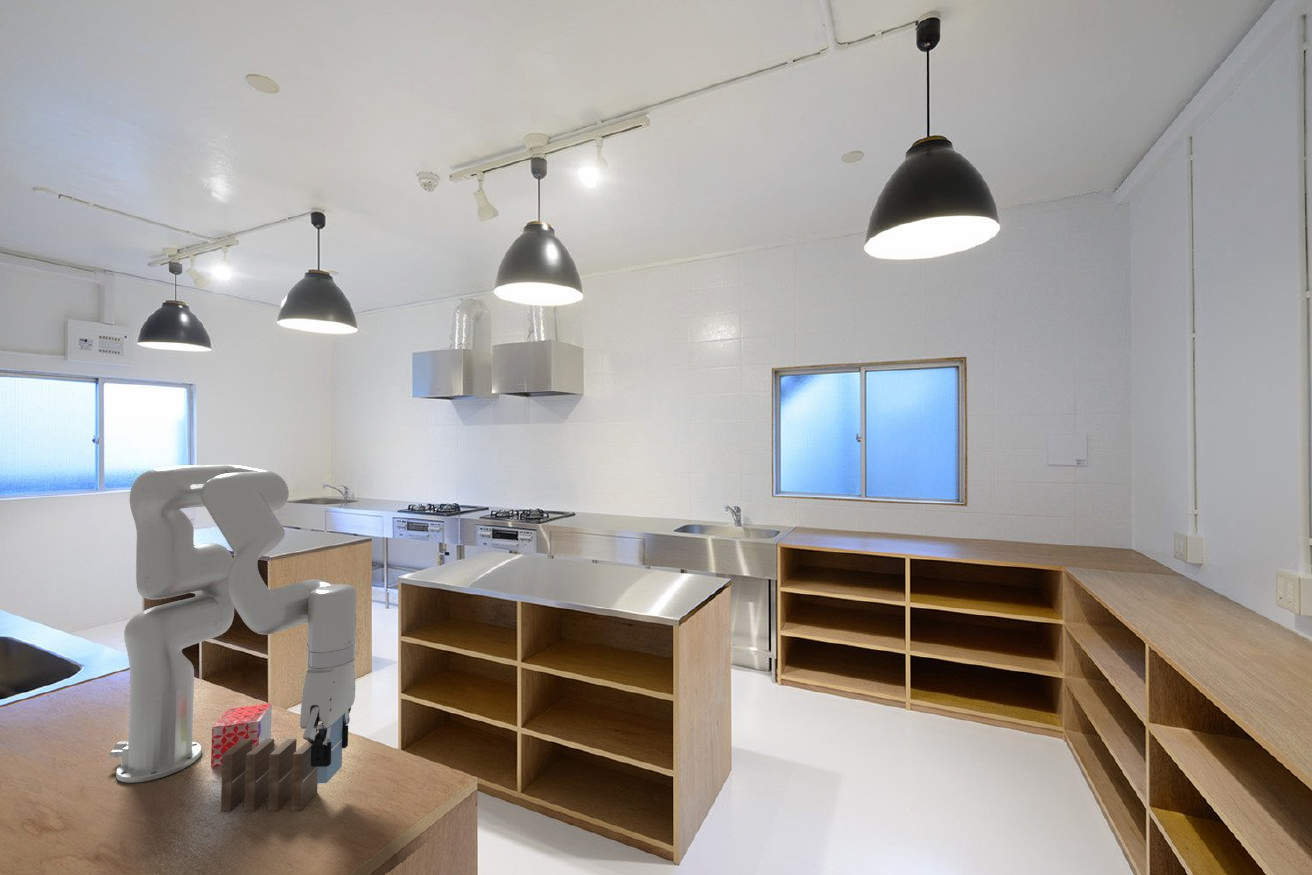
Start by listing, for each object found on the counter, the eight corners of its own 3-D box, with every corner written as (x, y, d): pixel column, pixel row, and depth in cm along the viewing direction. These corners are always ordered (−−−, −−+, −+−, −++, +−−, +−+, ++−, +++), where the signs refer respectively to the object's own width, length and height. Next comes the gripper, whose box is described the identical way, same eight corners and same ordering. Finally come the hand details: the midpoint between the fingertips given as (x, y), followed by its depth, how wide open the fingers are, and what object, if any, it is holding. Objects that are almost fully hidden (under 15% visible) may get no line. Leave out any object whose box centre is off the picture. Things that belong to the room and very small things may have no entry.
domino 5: (316, 783, 95) (318, 726, 95) (332, 766, 100) (333, 712, 100) (326, 783, 95) (327, 725, 95) (342, 766, 100) (343, 711, 100)
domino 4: (291, 811, 95) (292, 753, 95) (308, 792, 100) (309, 738, 100) (301, 811, 95) (302, 753, 95) (317, 792, 100) (319, 738, 100)
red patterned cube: (226, 745, 115) (228, 708, 115) (270, 739, 117) (271, 703, 118) (210, 767, 107) (211, 727, 107) (258, 760, 110) (259, 721, 110)
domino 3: (267, 811, 95) (269, 754, 95) (285, 793, 100) (287, 738, 100) (277, 811, 95) (279, 754, 95) (295, 793, 100) (296, 738, 100)
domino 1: (220, 812, 94) (222, 754, 94) (241, 793, 99) (242, 738, 99) (230, 812, 94) (232, 754, 95) (250, 793, 99) (252, 738, 100)
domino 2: (244, 811, 94) (245, 754, 95) (263, 793, 99) (265, 738, 100) (254, 811, 95) (255, 754, 95) (273, 793, 100) (274, 738, 100)
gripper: (335, 638, 106) (334, 731, 106) (280, 675, 89) (277, 786, 89) (374, 638, 107) (373, 731, 106) (326, 674, 90) (324, 785, 89)
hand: (329, 755), depth 98 cm, fingers closed on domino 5, 4 cm apart
